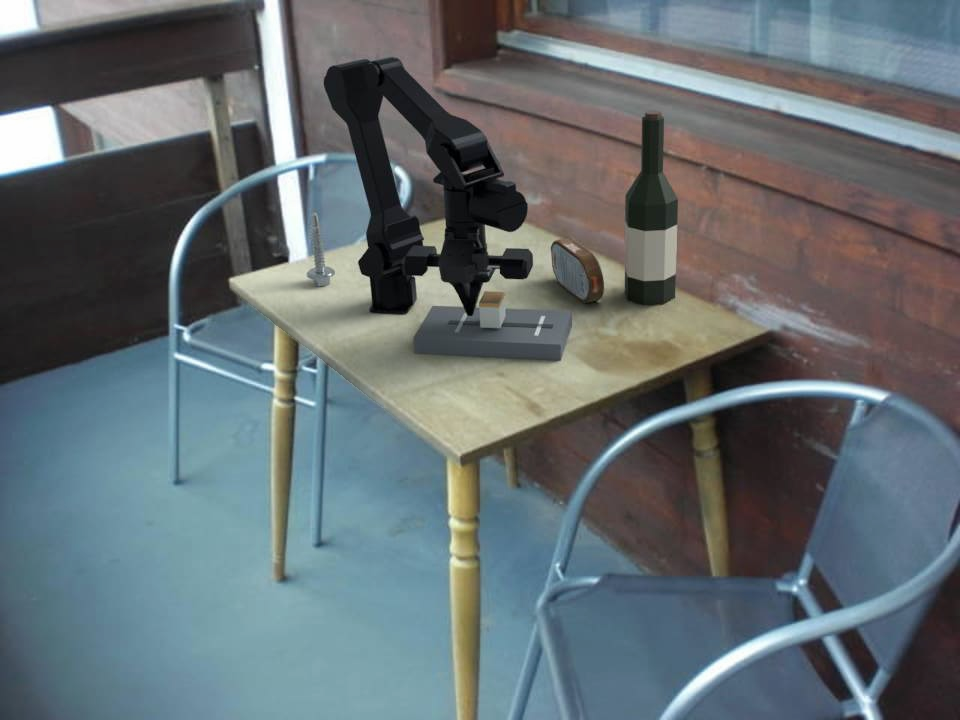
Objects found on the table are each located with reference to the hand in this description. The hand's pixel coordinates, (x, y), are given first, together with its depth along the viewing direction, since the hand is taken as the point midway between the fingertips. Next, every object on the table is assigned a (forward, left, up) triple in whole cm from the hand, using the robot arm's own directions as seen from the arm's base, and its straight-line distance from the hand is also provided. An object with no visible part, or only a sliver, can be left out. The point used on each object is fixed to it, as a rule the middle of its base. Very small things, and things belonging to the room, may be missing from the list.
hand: (470, 315), depth 173 cm
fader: (+3, 0, -1) cm, 4 cm away
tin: (+13, +19, -4) cm, 24 cm away
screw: (-31, +19, -4) cm, 36 cm away
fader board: (+3, 0, -4) cm, 5 cm away
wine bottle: (+25, +19, -4) cm, 32 cm away
